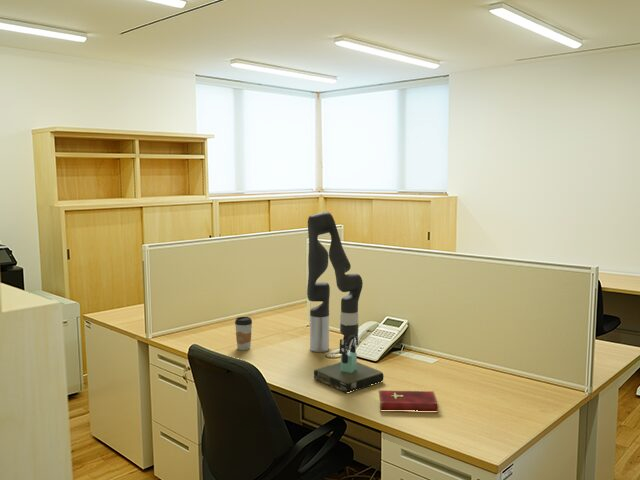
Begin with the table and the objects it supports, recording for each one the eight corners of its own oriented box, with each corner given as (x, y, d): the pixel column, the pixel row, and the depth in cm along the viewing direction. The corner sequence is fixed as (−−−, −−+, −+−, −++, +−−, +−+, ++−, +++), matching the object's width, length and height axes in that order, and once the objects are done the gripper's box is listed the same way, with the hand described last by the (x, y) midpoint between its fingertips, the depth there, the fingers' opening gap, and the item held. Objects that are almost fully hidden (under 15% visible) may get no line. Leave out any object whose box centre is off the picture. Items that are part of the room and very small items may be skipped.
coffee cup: (232, 349, 281) (231, 319, 279) (240, 345, 288) (240, 315, 287) (247, 351, 278) (246, 321, 276) (255, 347, 285) (255, 317, 283)
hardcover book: (438, 414, 208) (438, 403, 208) (380, 413, 210) (380, 401, 209) (433, 401, 220) (433, 390, 220) (378, 400, 221) (378, 389, 221)
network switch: (308, 382, 240) (308, 370, 239) (345, 368, 257) (345, 357, 256) (351, 397, 224) (351, 385, 224) (387, 381, 241) (388, 369, 240)
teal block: (345, 367, 243) (345, 351, 243) (356, 369, 241) (356, 353, 240) (340, 371, 239) (340, 354, 238) (351, 372, 237) (351, 356, 236)
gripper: (347, 316, 245) (347, 353, 248) (333, 325, 233) (333, 363, 235) (364, 318, 242) (363, 356, 244) (351, 327, 230) (350, 366, 232)
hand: (348, 359), depth 240 cm, fingers open, 8 cm apart
